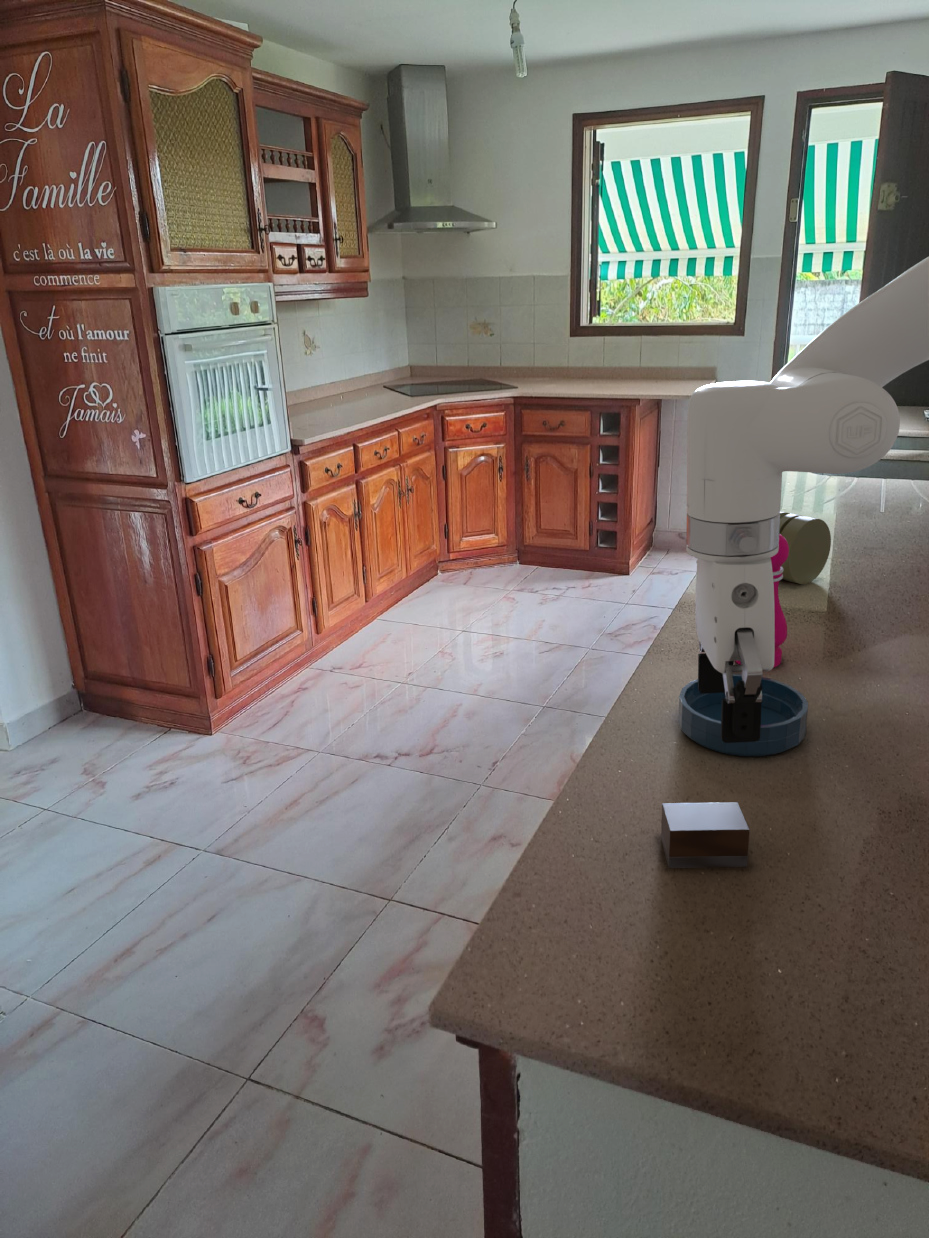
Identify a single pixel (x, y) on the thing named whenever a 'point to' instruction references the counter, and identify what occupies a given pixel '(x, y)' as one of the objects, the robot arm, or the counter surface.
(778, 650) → the pepper mill
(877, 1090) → the counter surface
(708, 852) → the shiny metal block
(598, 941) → the counter surface
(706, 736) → the bowl
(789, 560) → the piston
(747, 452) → the robot arm
